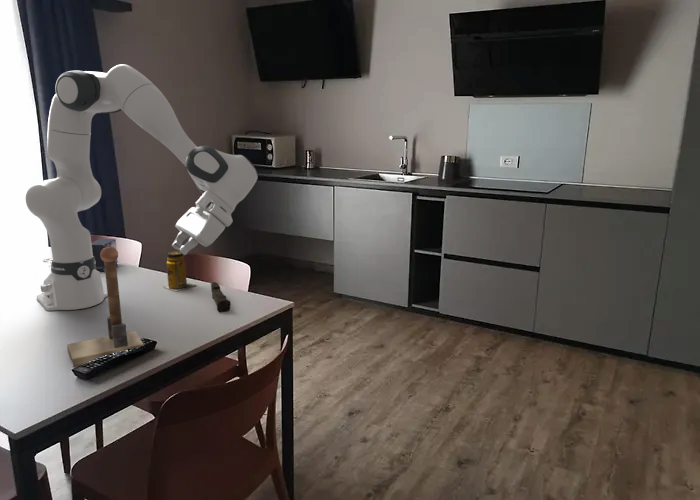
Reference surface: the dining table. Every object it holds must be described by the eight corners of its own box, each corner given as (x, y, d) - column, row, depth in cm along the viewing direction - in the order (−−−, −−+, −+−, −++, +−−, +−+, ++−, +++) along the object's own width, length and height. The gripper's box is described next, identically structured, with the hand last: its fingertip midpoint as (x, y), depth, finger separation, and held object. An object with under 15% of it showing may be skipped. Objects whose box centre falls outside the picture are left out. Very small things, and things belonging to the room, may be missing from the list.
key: (54, 259, 223) (43, 260, 221) (54, 257, 223) (42, 258, 221) (55, 267, 213) (43, 268, 211) (55, 264, 213) (43, 265, 211)
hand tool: (231, 312, 166) (230, 297, 165) (217, 313, 165) (216, 298, 164) (222, 293, 183) (221, 280, 182) (210, 294, 182) (209, 281, 181)
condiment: (163, 287, 188) (160, 253, 185) (184, 281, 195) (182, 248, 192) (175, 291, 184) (172, 256, 181) (197, 285, 190) (194, 252, 187)
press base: (135, 337, 146) (132, 311, 144) (144, 351, 138) (141, 323, 136) (67, 351, 138) (64, 323, 136) (73, 366, 130) (69, 337, 128)
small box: (107, 272, 206) (104, 244, 203) (89, 271, 206) (86, 244, 203) (119, 264, 216) (116, 238, 213) (102, 264, 216) (99, 238, 213)
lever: (124, 334, 141) (115, 244, 136) (128, 339, 138) (119, 247, 132) (107, 337, 139) (98, 246, 134) (110, 343, 136) (100, 249, 130)
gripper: (191, 196, 152) (157, 235, 149) (217, 207, 135) (180, 251, 133) (207, 211, 155) (175, 249, 153) (235, 223, 139) (199, 266, 136)
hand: (177, 250), depth 143 cm, fingers open, 5 cm apart
